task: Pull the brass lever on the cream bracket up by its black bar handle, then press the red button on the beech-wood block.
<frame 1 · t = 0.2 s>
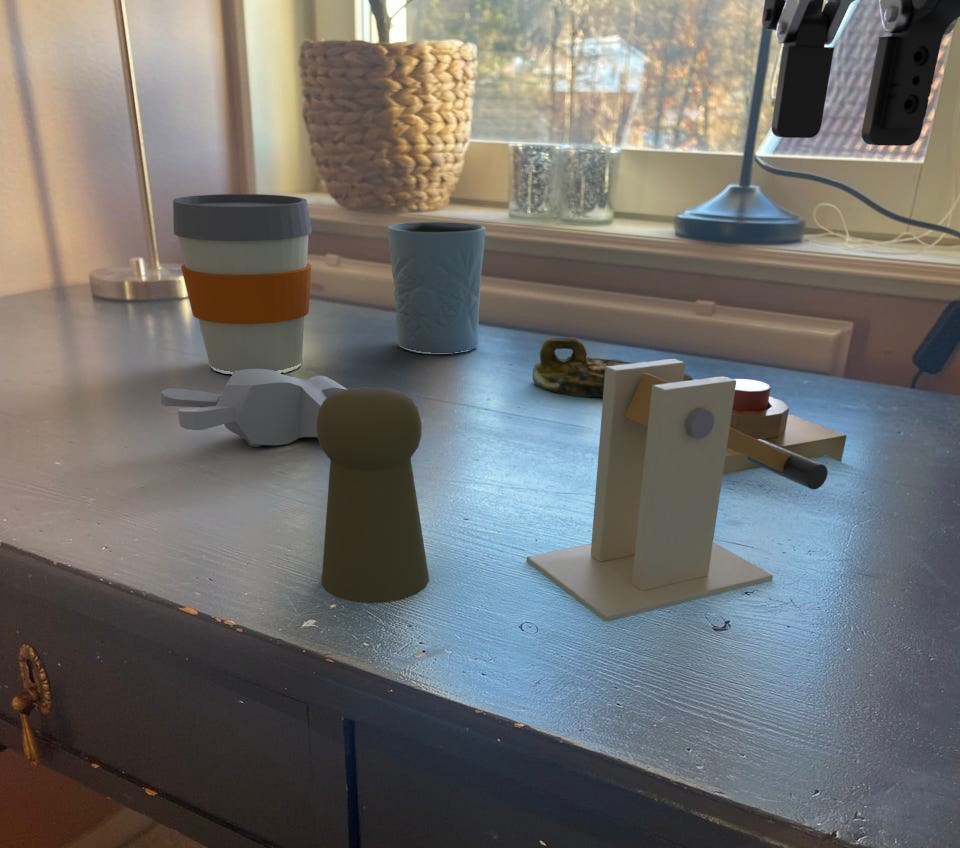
hand: (837, 140, 43), 22 cm above the table, tool pointing down, fingers open, 8 cm apart
lever: (725, 435, 52), point 8 cm above the table, hinge at -25.0°
button: (743, 396, 72), point 4 cm above the table, slide at 0.1 cm
bracket: (645, 585, 54), on the table
seal: (611, 389, 91), on the table
bunny figurine: (272, 441, 76), on the table
reusable coffee cup: (256, 367, 96), on the table
button block: (735, 454, 74), on the table
cork: (376, 596, 53), on the table
blue embossed cup: (437, 347, 105), on the table
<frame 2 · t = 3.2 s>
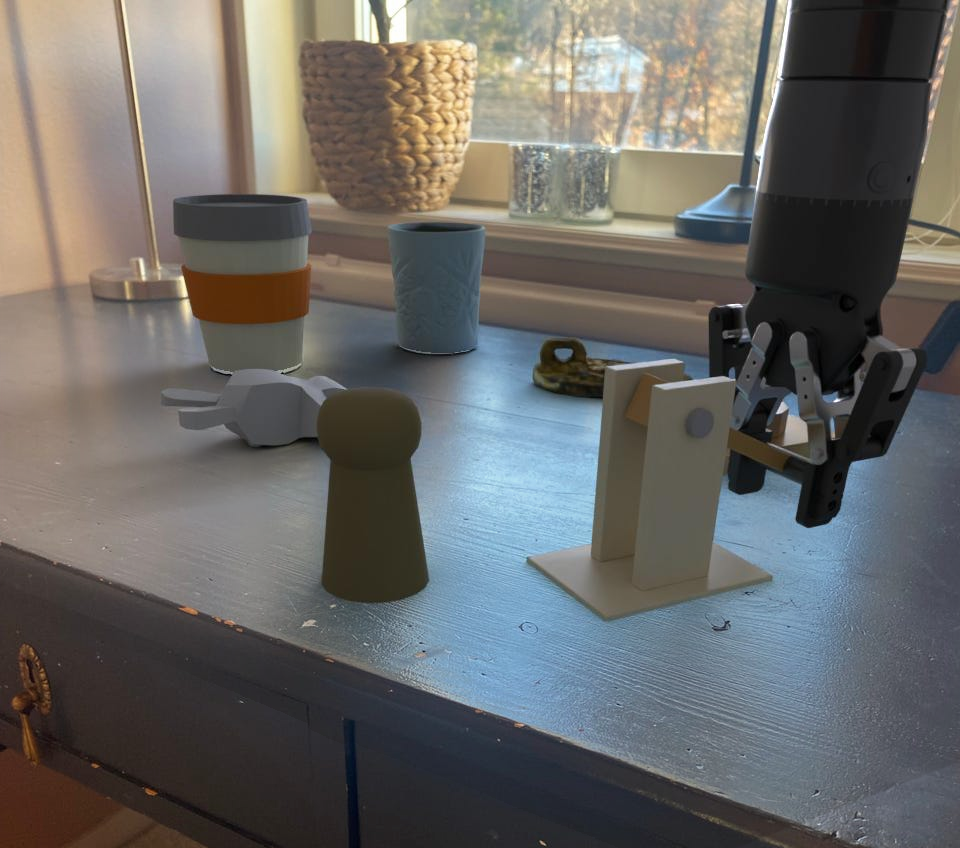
hand: (777, 505, 56), 3 cm above the table, tool pointing down, fingers closed on lever, 5 cm apart
lever: (724, 435, 52), point 8 cm above the table, hinge at -25.0°, touching gripper
everything else where it was.
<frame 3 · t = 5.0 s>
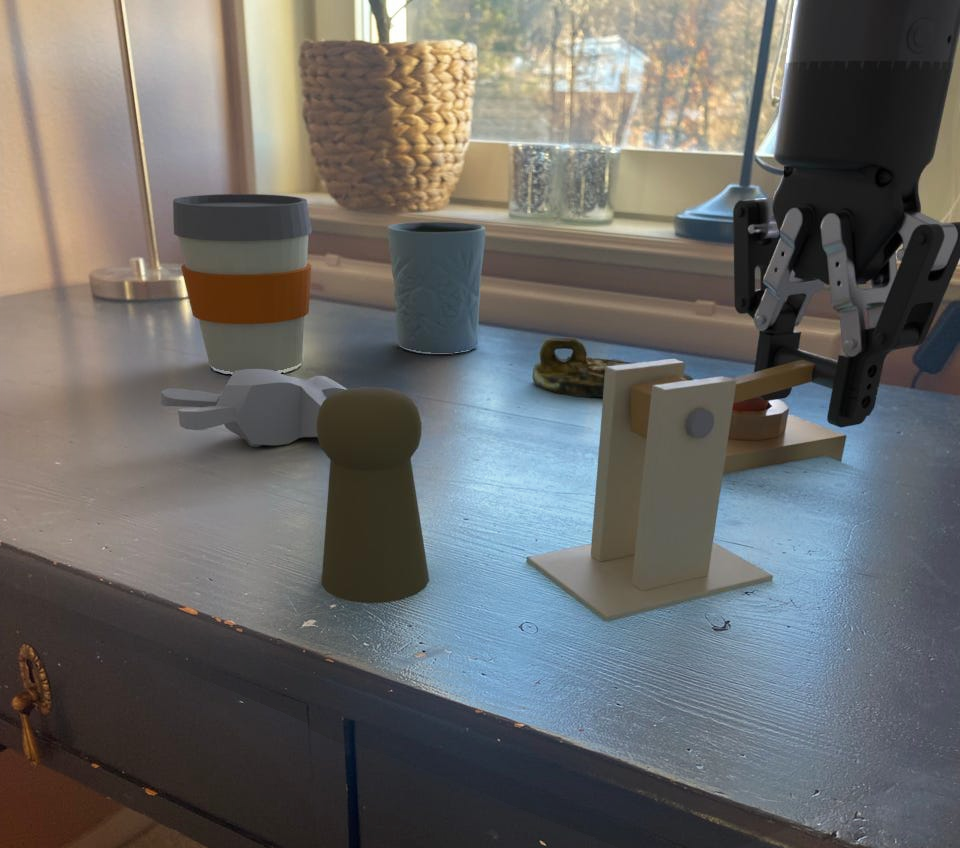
hand: (807, 408, 54), 9 cm above the table, tool pointing down, fingers closed on lever, 5 cm apart
lever: (737, 389, 51), point 10 cm above the table, hinge at 6.1°, touching gripper
everything else where it was.
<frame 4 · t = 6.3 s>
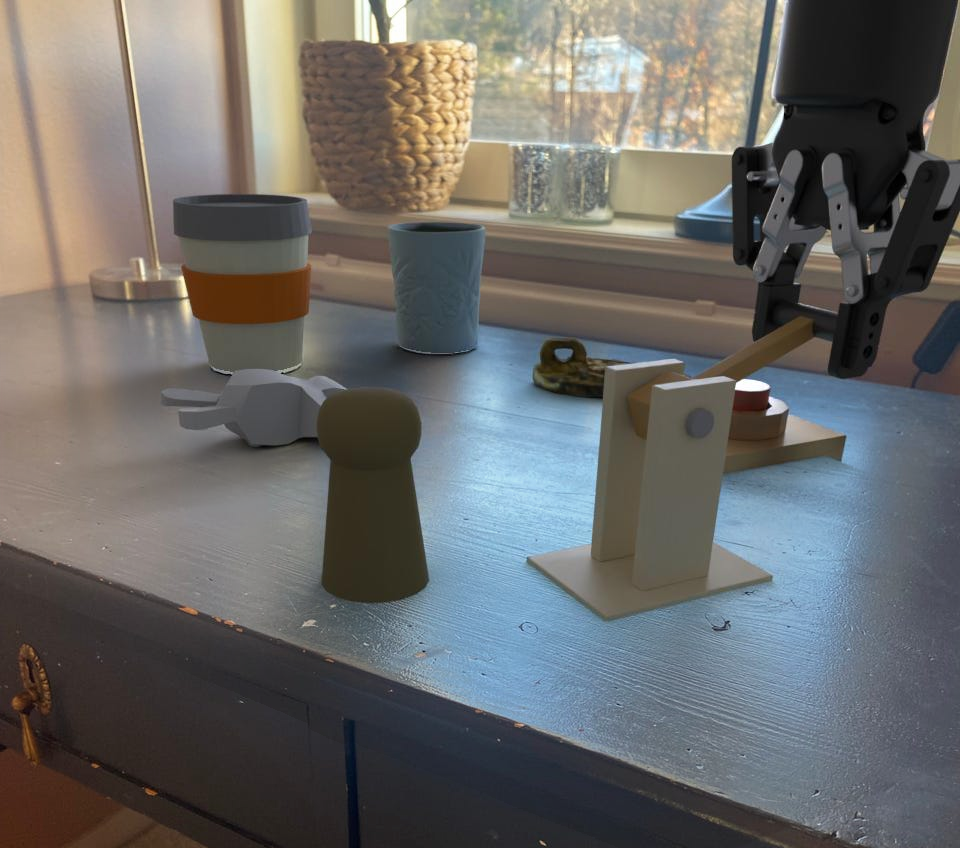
hand: (807, 362, 53), 11 cm above the table, tool pointing down, fingers closed on lever, 5 cm apart
lever: (736, 367, 50), point 12 cm above the table, hinge at 20.8°, touching gripper
everything else where it was.
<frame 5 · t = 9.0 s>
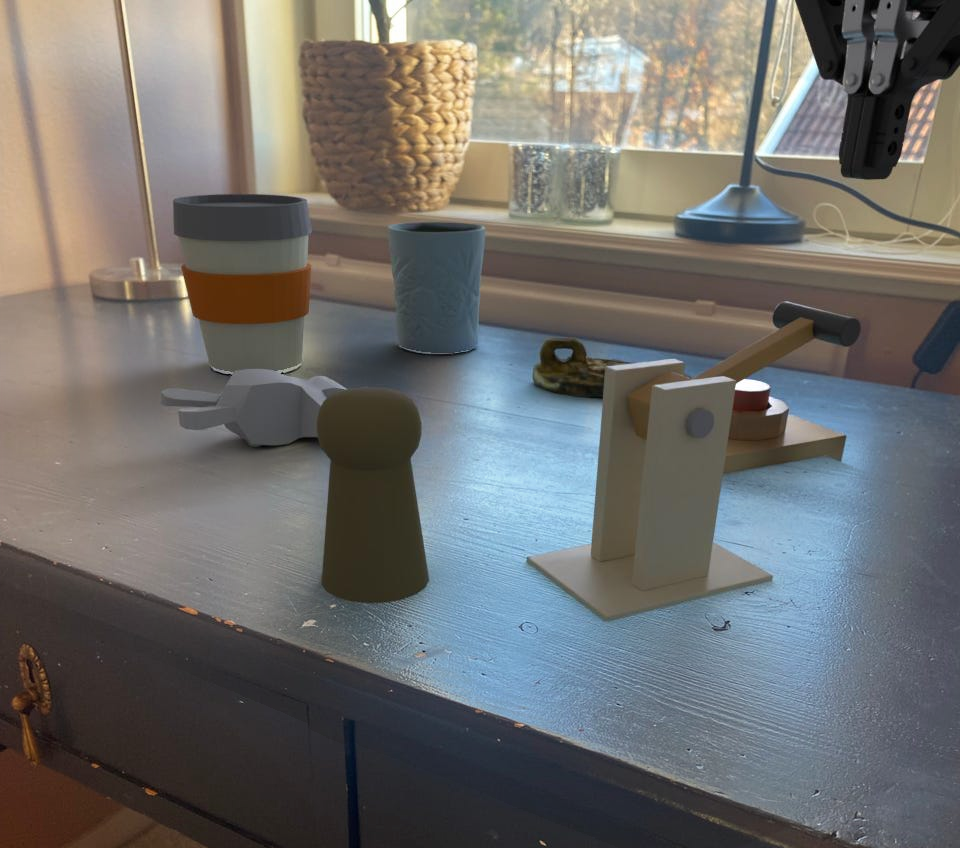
hand: (864, 177, 50), 20 cm above the table, tool pointing down, fingers closed
lever: (736, 368, 50), point 12 cm above the table, hinge at 20.4°
everything else where it was.
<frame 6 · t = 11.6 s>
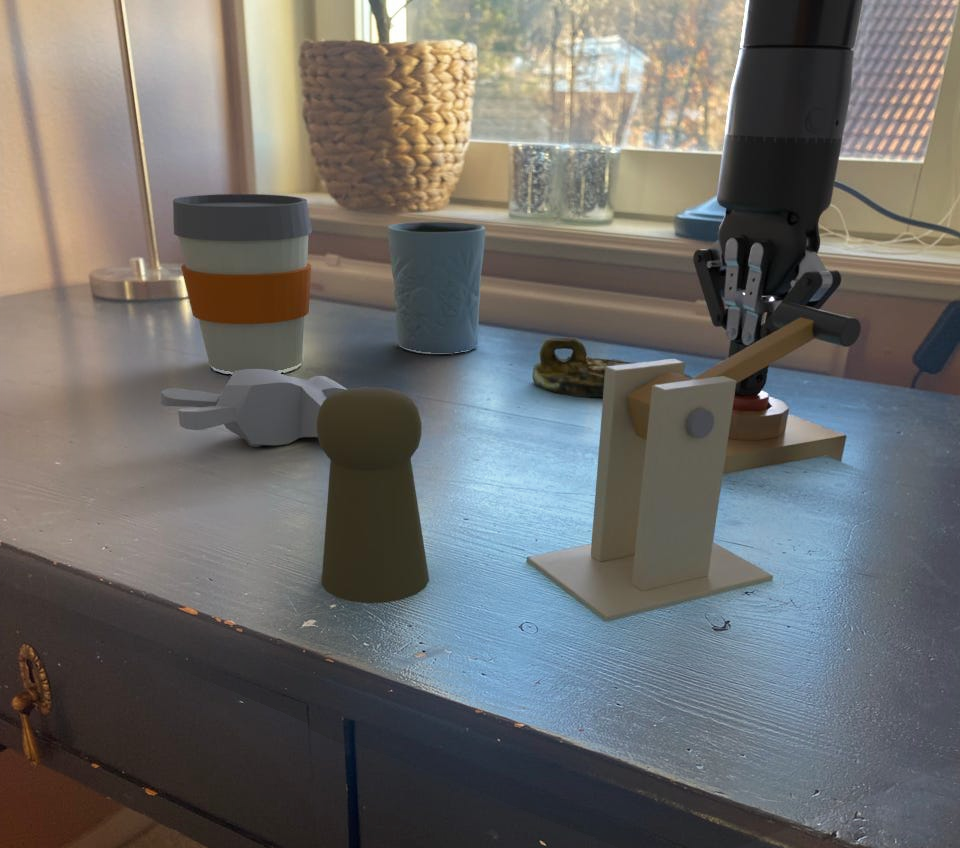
hand: (743, 393, 72), 5 cm above the table, tool pointing down, fingers closed
button: (742, 404, 73), point 4 cm above the table, slide at -0.5 cm, touching gripper
everything else where it was.
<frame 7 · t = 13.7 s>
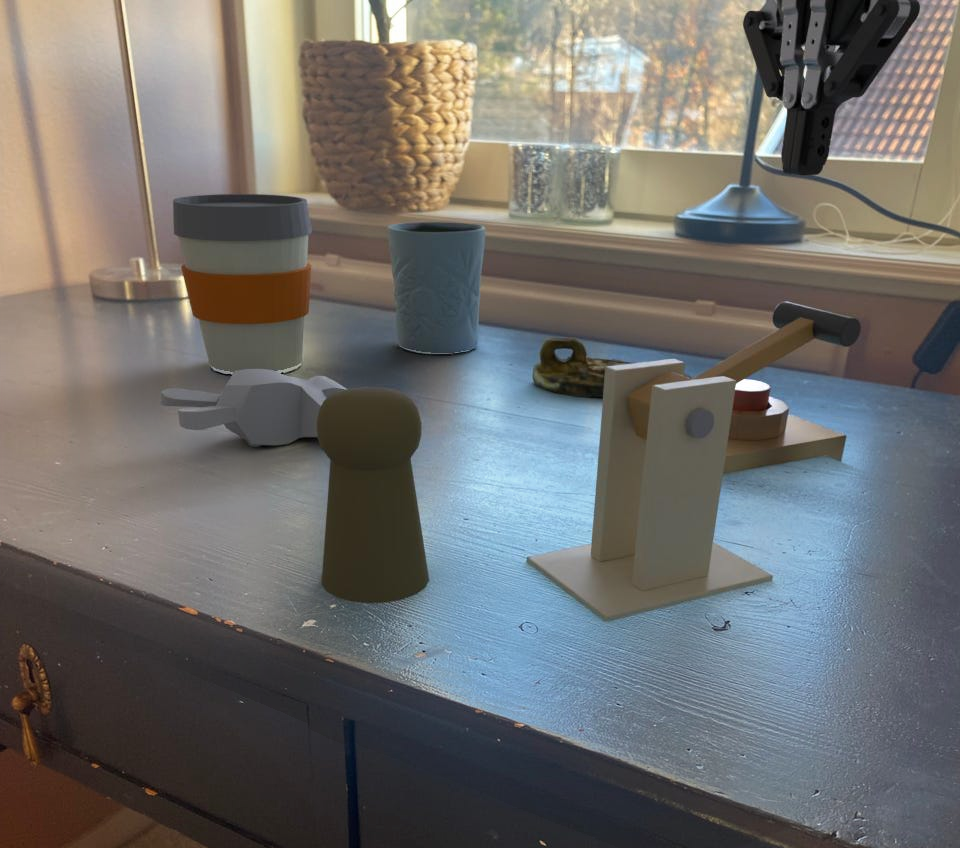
hand: (801, 173, 64), 20 cm above the table, tool pointing down, fingers closed
button: (743, 396, 72), point 4 cm above the table, slide at 0.1 cm
everything else where it was.
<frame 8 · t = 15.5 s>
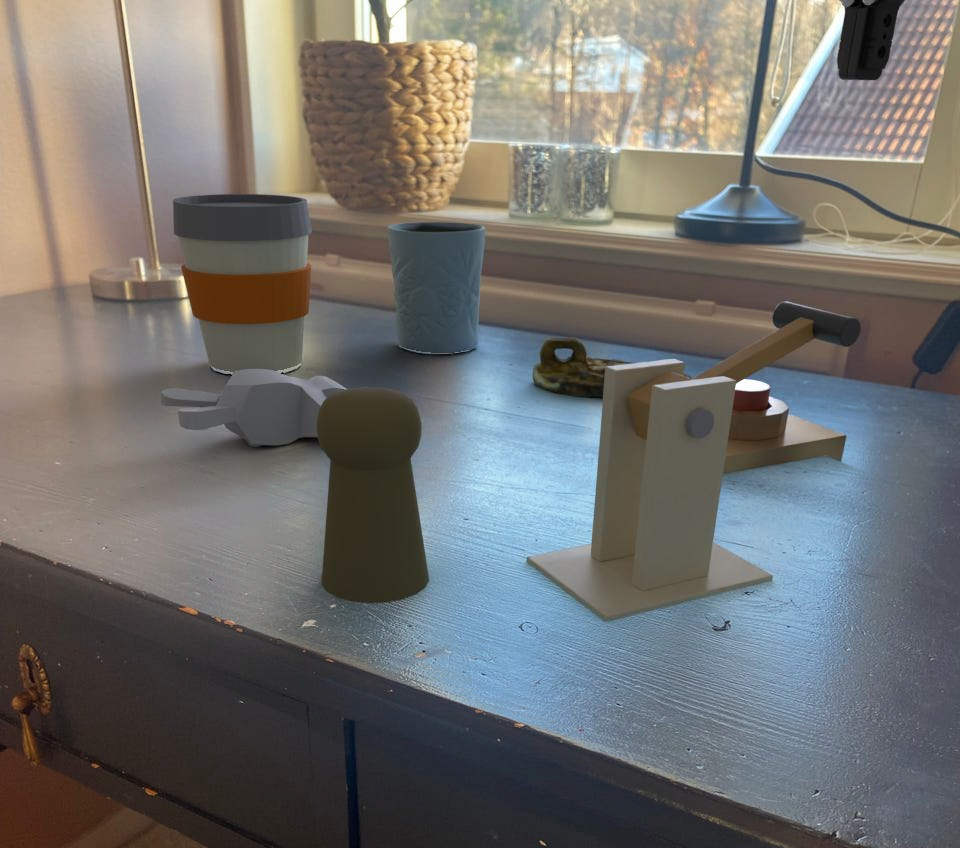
hand: (858, 79, 60), 25 cm above the table, tool pointing down, fingers closed
nothing on the table moved.
at the end: lever at +20° (first picture: -25°); button pushed in 1.2 cm at the most during the clip, back to where it started at the end; button slide at 0.1 cm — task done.
